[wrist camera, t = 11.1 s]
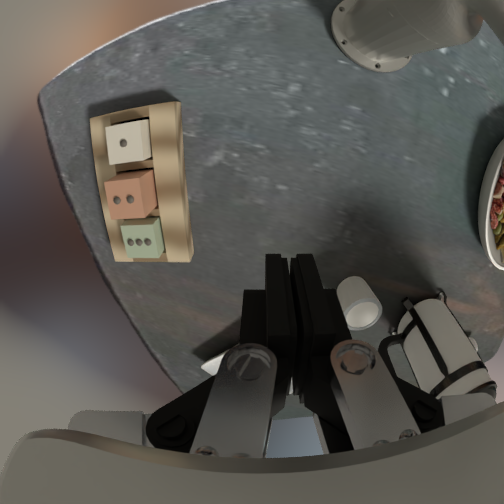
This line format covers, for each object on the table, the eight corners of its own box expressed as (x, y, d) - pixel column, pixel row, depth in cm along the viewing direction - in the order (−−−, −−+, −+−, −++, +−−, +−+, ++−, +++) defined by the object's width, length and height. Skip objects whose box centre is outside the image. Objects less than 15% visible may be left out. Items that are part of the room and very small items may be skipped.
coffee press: (432, 269, 43) (516, 392, 17) (452, 310, 48) (511, 413, 22) (363, 322, 50) (408, 462, 23) (393, 353, 55) (431, 464, 28)
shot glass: (325, 298, 47) (333, 325, 41) (346, 267, 44) (358, 293, 37) (355, 308, 48) (366, 334, 42) (376, 280, 45) (390, 305, 39)
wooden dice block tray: (100, 117, 32) (89, 118, 30) (180, 102, 32) (174, 101, 29) (122, 252, 43) (115, 261, 41) (194, 252, 43) (189, 262, 40)
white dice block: (122, 124, 33) (104, 127, 28) (154, 118, 33) (139, 120, 28) (125, 157, 35) (108, 165, 31) (157, 153, 35) (143, 160, 31)
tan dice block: (121, 172, 35) (103, 182, 30) (153, 169, 34) (138, 178, 30) (126, 206, 37) (110, 220, 32) (158, 204, 37) (144, 218, 32)
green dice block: (133, 212, 40) (119, 226, 35) (164, 211, 40) (152, 225, 35) (139, 242, 42) (127, 258, 38) (168, 242, 42) (158, 258, 37)
